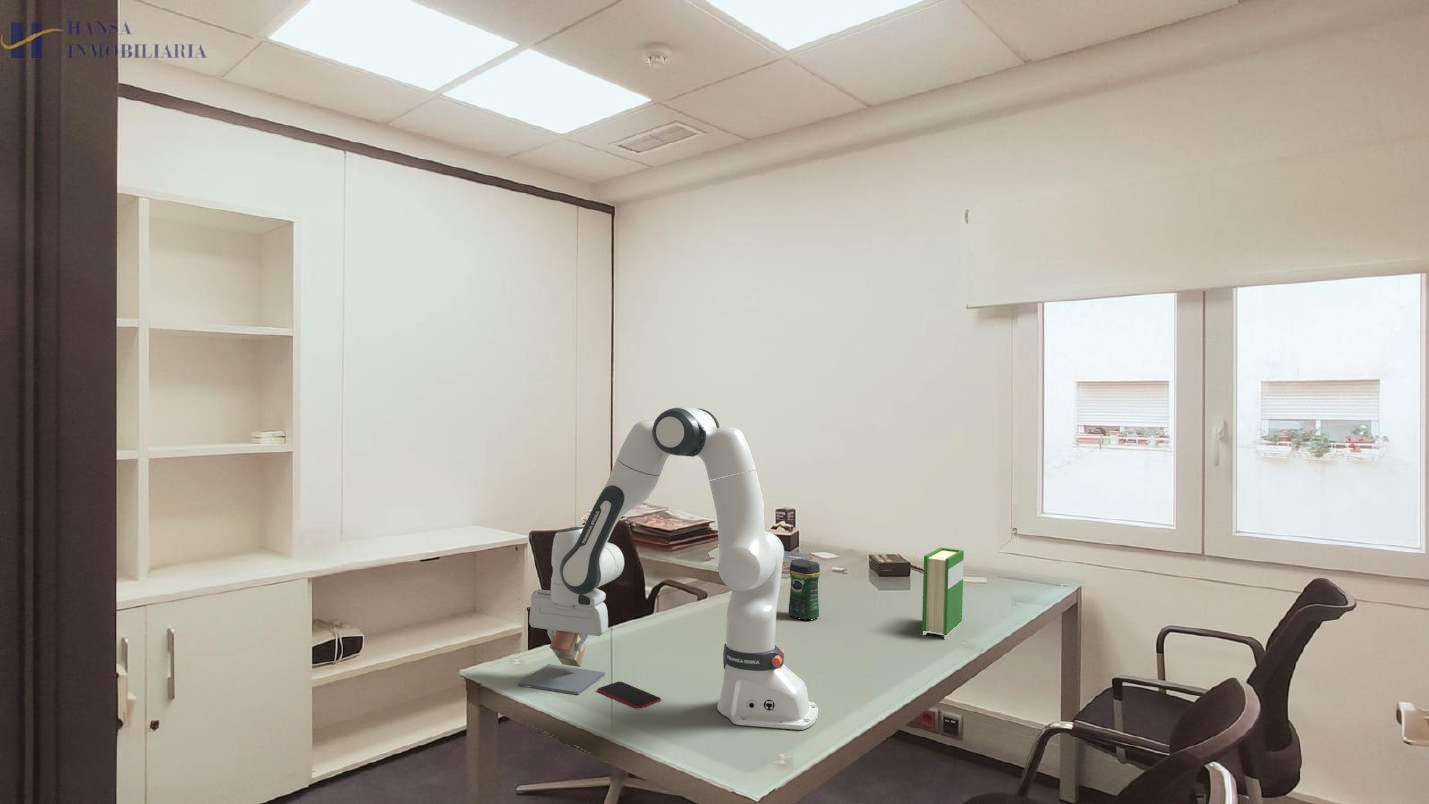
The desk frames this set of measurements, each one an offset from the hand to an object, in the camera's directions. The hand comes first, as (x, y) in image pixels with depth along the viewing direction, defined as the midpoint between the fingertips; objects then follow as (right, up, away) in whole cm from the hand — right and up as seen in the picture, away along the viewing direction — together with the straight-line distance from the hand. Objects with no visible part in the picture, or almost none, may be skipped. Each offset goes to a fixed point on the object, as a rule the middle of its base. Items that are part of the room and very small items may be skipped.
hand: (567, 649), depth 185 cm
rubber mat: (-1, -7, -2) cm, 7 cm away
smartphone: (+16, -8, -11) cm, 21 cm away
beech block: (+1, -3, +4) cm, 5 cm away
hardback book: (+107, -10, +48) cm, 118 cm away
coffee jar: (+65, -9, +59) cm, 88 cm away
